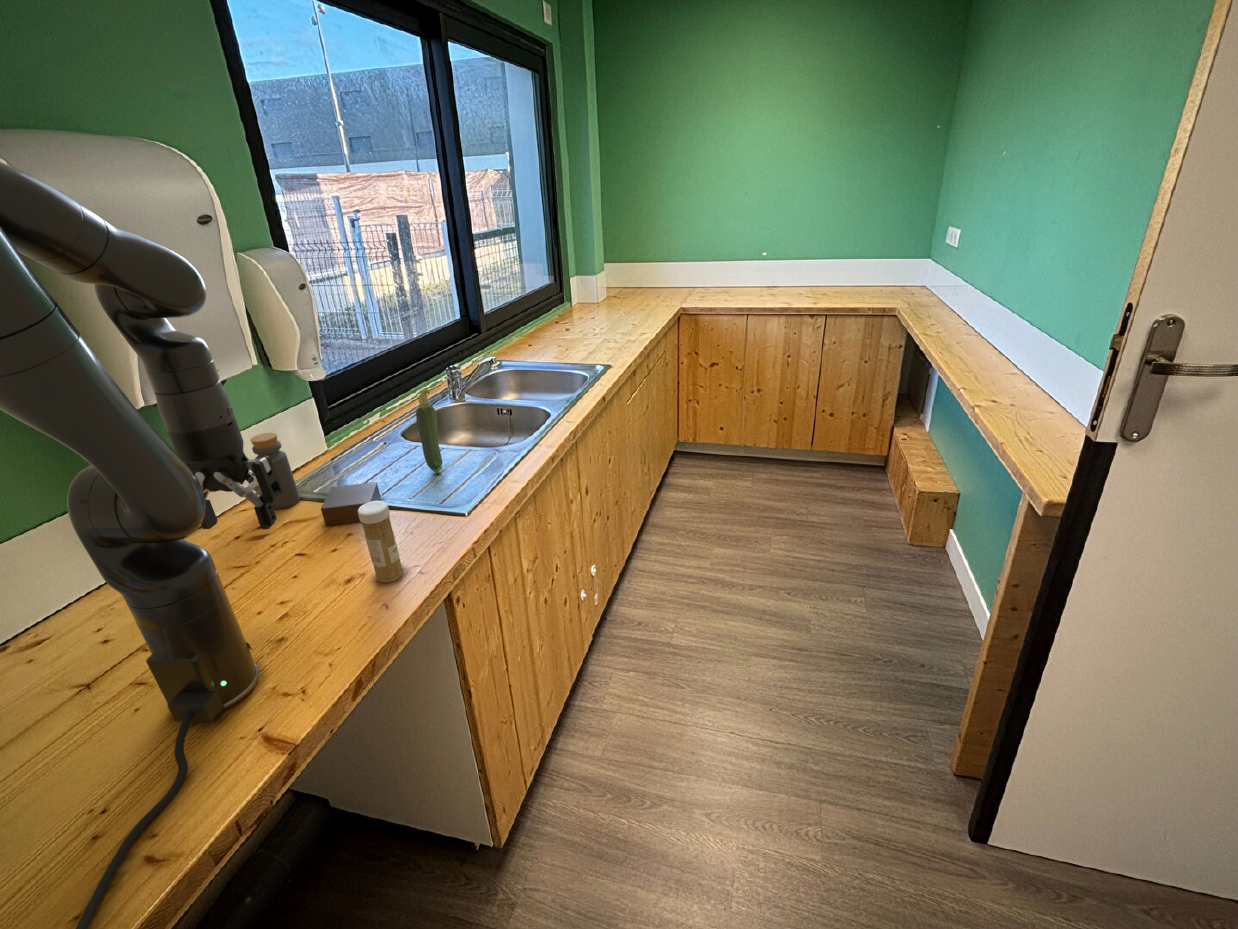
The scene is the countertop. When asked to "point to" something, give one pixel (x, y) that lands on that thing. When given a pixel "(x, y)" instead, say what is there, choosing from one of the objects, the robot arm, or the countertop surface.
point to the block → (348, 502)
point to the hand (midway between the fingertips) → (240, 526)
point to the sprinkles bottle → (380, 540)
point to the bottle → (277, 467)
